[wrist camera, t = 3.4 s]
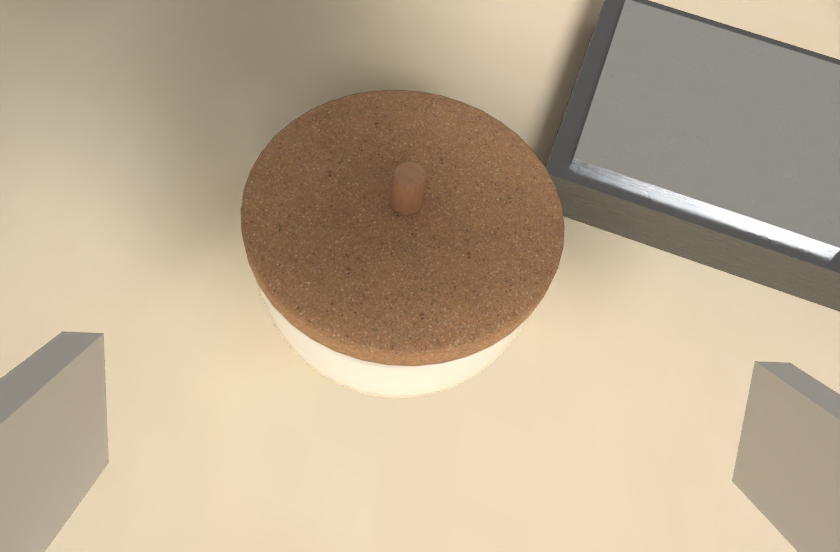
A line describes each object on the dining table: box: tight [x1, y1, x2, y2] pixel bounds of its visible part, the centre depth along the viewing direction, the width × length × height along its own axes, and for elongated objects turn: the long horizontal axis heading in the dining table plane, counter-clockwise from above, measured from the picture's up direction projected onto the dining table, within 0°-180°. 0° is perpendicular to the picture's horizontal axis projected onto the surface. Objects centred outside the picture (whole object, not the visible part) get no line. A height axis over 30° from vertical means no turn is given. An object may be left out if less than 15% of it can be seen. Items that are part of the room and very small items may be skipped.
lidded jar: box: [241, 90, 564, 398], centre depth 26 cm, size 11×11×9 cm
